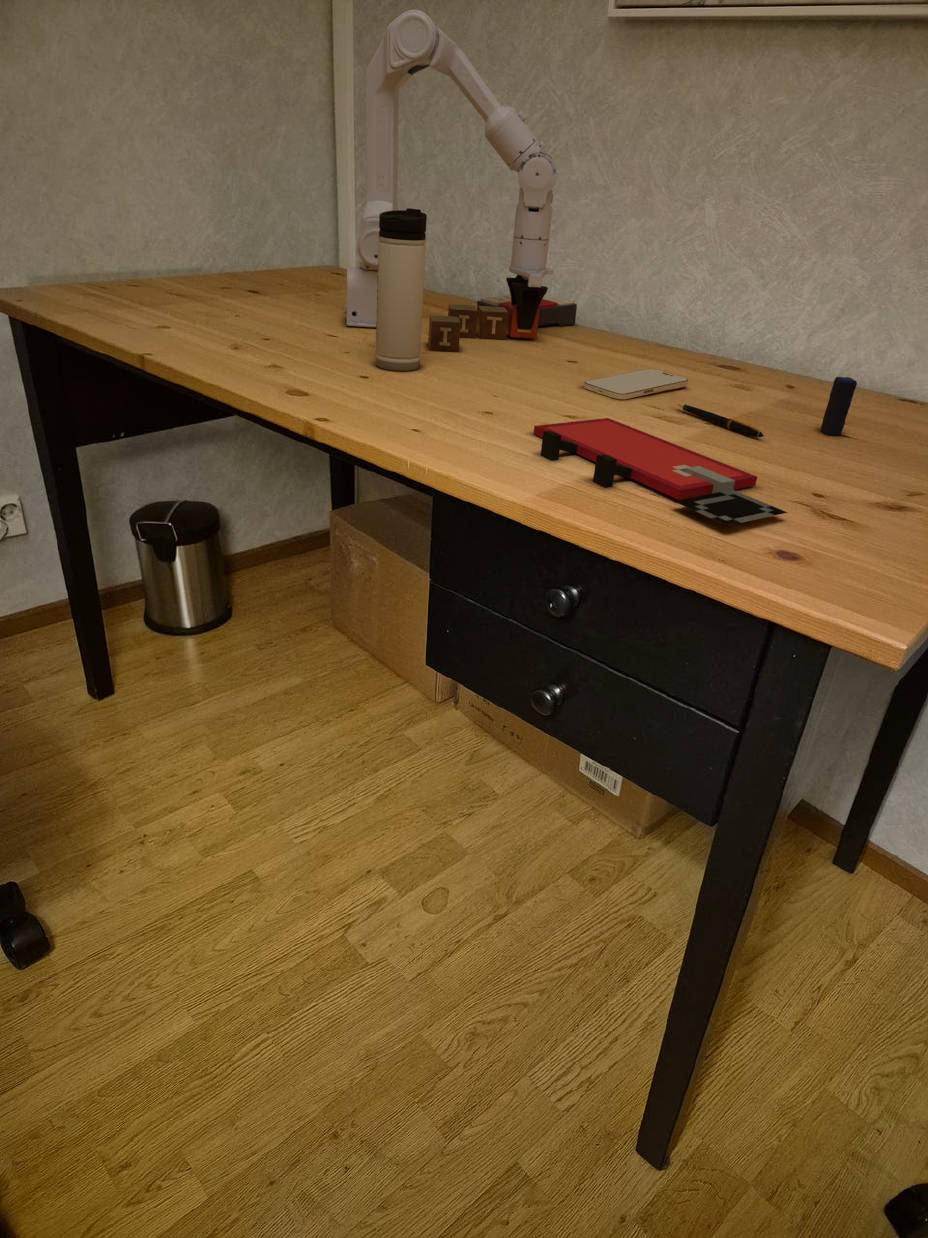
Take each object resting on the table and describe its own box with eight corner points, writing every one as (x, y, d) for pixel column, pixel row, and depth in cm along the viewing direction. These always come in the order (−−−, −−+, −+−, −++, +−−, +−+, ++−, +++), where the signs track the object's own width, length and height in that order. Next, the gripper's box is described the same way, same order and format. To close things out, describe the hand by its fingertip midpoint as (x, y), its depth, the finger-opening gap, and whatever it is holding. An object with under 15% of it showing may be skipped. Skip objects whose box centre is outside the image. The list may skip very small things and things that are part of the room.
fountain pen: (671, 409, 112) (673, 397, 111) (677, 408, 113) (679, 396, 112) (759, 441, 102) (762, 429, 101) (765, 440, 103) (769, 428, 102)
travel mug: (428, 365, 123) (436, 211, 113) (406, 373, 118) (413, 212, 108) (390, 358, 125) (395, 206, 115) (367, 366, 120) (370, 207, 110)
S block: (510, 336, 143) (513, 309, 140) (506, 331, 146) (509, 304, 144) (536, 338, 143) (539, 310, 141) (531, 332, 147) (534, 305, 145)
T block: (479, 338, 142) (481, 310, 140) (476, 332, 146) (478, 305, 144) (505, 339, 143) (508, 312, 140) (501, 334, 146) (504, 307, 144)
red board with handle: (710, 538, 75) (816, 515, 83) (717, 508, 73) (824, 487, 81) (506, 440, 96) (606, 429, 104) (509, 415, 95) (609, 406, 103)
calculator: (476, 296, 156) (538, 289, 164) (475, 320, 158) (536, 312, 166) (515, 307, 149) (578, 299, 157) (514, 333, 151) (576, 324, 159)
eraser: (818, 430, 108) (834, 375, 105) (835, 431, 109) (851, 376, 105) (825, 435, 107) (841, 380, 103) (842, 436, 107) (859, 381, 103)
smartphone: (581, 381, 118) (651, 367, 127) (580, 389, 119) (649, 375, 127) (621, 394, 113) (691, 379, 122) (620, 403, 114) (690, 387, 123)
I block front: (430, 350, 131) (431, 320, 129) (428, 344, 135) (429, 314, 133) (458, 352, 132) (460, 322, 130) (455, 345, 136) (457, 316, 134)
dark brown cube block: (449, 336, 141) (451, 308, 139) (447, 331, 145) (448, 303, 143) (476, 338, 142) (478, 310, 140) (472, 332, 146) (474, 305, 144)
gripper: (565, 244, 132) (554, 336, 138) (547, 234, 144) (537, 319, 151) (519, 241, 131) (510, 334, 137) (505, 231, 143) (498, 316, 150)
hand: (522, 326), depth 144 cm, fingers closed on S block, 4 cm apart
